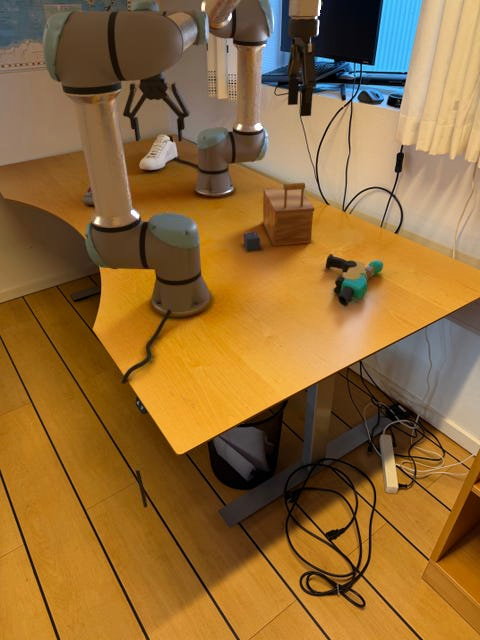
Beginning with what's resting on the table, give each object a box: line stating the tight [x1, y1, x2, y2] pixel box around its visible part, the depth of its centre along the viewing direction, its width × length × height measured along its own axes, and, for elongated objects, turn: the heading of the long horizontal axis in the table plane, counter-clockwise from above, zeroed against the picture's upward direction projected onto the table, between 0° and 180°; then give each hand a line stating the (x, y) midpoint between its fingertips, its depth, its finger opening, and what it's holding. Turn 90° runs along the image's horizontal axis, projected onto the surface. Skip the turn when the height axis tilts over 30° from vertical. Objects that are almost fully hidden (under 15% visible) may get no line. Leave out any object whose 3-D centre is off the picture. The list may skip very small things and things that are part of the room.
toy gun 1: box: [81, 186, 94, 206], centre depth 181 cm, size 4×19×15 cm
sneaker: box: [139, 133, 179, 171], centre depth 214 cm, size 10×29×12 cm, turn 163°
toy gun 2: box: [325, 253, 385, 307], centre depth 130 cm, size 4×26×15 cm
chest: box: [262, 192, 314, 247], centre depth 156 cm, size 18×12×11 cm
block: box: [243, 231, 261, 252], centre depth 149 cm, size 4×4×4 cm
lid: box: [263, 182, 315, 214], centre depth 149 cm, size 18×12×8 cm, turn 9°
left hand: (159, 140), depth 150 cm, fingers open, 13 cm apart
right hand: (298, 110), depth 129 cm, fingers open, 13 cm apart
